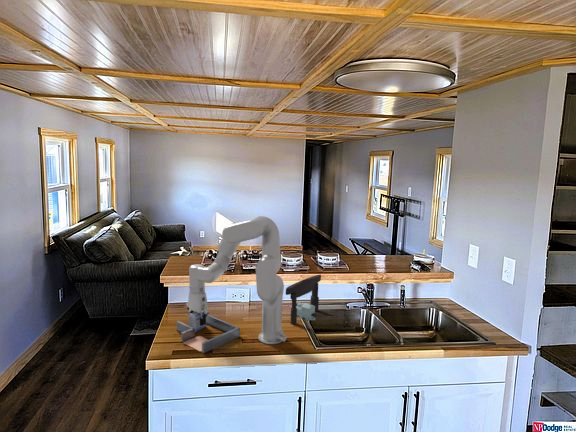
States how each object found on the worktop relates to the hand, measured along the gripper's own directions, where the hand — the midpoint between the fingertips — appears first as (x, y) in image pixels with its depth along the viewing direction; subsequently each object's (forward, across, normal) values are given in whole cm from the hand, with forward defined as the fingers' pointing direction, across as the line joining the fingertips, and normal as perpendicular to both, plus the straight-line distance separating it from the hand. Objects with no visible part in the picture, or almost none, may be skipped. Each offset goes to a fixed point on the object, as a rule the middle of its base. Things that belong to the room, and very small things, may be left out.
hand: (197, 322), depth 203 cm
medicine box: (+4, 0, 0) cm, 4 cm away
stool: (+3, -30, -49) cm, 58 cm away
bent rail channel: (+3, -8, +3) cm, 9 cm away
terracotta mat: (+3, -14, +10) cm, 17 cm away
